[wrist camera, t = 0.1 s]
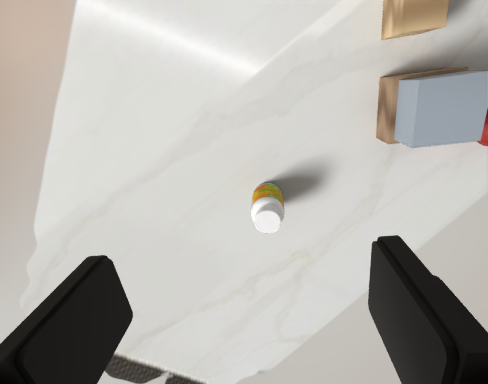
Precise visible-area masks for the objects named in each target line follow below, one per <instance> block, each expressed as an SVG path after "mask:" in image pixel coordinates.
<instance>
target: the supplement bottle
mask: <svg viewBox="0 0 488 384" xmlns="http://www.w3.org/2000/svg"><path fill="white" fill-rule="evenodd" d="M251 217H252V219H253V221H254V222H255V226H256V228H257V229H258V230H259V231H261V232H263V233H273V232H275V231H277V230H278V229H279V227H280V225H281V222H282V220H283V218H284V205H283V197H282V193H281V190H280V189H279V188H278V187H277V186H276V185H274V184H271V183H264V184H261V185H259V186H258V187H257V188H256V189H255V190H254V193H253V198H252V207H251Z"/></svg>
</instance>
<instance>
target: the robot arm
mask: <svg viewBox="0 0 488 384" xmlns="http://www.w3.org/2000/svg"><path fill="white" fill-rule="evenodd" d="M368 305H369V310H370V313H371V316H372V318H373V320H374V323H375V325H376V327H377V329H378V332H379V334H380V336H381V338H382V340H383V343H384V345H385V347H386V349H387V352H388V354H389V356H390V358H391V361H392V363H393V365H394V367H395V369H396V372H397V374H398V376H399V378H400V381H401V383H402V384H488V332H487V331H486V330H485V329H484V328H483V327H482V326H481V324H480V323H479V322H478V321H477V320H476V319H475V318H474V317H473V315H472V314H471V313H470V312H469V311H468V310H467V308H466V307H465V306H464V305H463V304H462V303H461V302H460V300H459V299H458V298H457V297H456V296H455V295H454V294H453V292H452V291H451V290H450V289H449V288H448V287H447V286H446V285H445V283H444V282H443V281H442V280H440V278H439V277H437V276H434V275H432V274H431V273H430V272H429V270H428V269H427V268H426V267H425V266H424V264H423V263H422V262H421V261H420V260H419V259H418V257H417V256H416V255H415V254H414V253H413V251H412V250H411V249H410V248H409V247H408V246H407V244H406V243H405V242H404V241H403V240H402V239H401V237H399V236H397V235H396V236H381V237H378V239H377V241H374V242H373V243H372V252H371V267H370V282H369V299H368ZM132 318H133V312H132V309H131V307H130V304H129V302H128V299H127V297H126V294H125V292H124V289H123V287H122V284H121V282H120V279H119V277H118V274H117V272H116V269H115V266H114V264H113V262H112V260H111V259H109V258H108V257H107V256H105V255H101V256H90V257H87V258H86V259H85V260H84V261H83V262H82V263H81V264H80V265H79V266H78V267H77V268H76V269H75V270H74V271H73V272H72V273H71V274H70V275H69V276H68V277H67V278H66V279H65V280H64V281H63V282H62V283H61V284H60V285H59V286H58V287H57V288H56V289H55V290H54V291H53V292H52V293H51V294H50V295H49V296H48V297H47V298H46V299H45V300H44V301H43V302H42V303H41V304H40V305H39V306H38V307H37V308H36V309H35V310H34V311H33V312H32V313H31V314H30V315H29V316H28V317H27V318H26V319H25V320H24V321H23V322H22V323H21V324H20V325H19V326H18V327H17V328H16V329H15V330H14V331H13V332H12V333H11V334H10V335H9V336H8V337H7V338H6V339H5V340H4V341H3V342H2V343H1V344H0V384H97V383H98V381H99V379H100V377H101V376H102V374H103V372H104V370H105V368H106V367H107V365H108V363H109V361H110V359H111V358H112V356H113V354H114V352H115V350H116V348H117V347H118V345H119V343H120V341H121V339H122V338H123V336H124V334H125V332H126V330H127V329H128V327H129V325H130V323H131V321H132Z"/></svg>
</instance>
